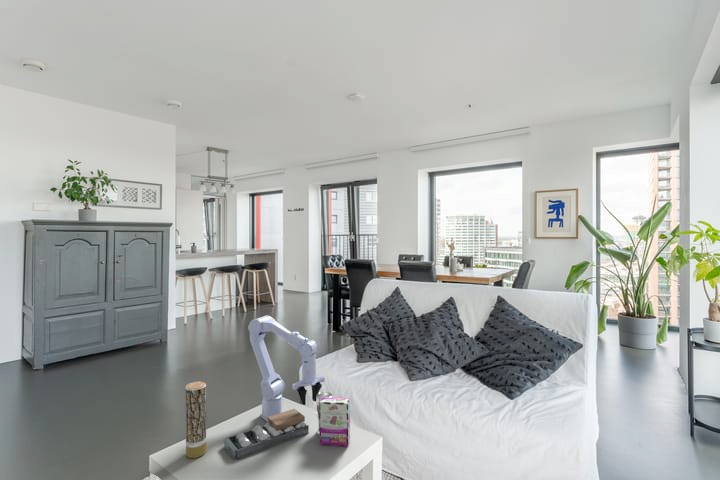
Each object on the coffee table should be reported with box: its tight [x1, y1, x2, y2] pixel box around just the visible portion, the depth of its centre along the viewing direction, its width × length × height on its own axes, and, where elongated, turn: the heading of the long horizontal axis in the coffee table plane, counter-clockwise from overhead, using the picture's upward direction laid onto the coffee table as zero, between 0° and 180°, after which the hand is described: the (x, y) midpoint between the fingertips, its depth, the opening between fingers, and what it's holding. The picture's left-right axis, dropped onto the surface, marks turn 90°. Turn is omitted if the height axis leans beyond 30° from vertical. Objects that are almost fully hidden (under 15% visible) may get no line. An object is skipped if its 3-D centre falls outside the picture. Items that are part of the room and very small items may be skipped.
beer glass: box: [315, 391, 334, 436], centre depth 150 cm, size 7×7×15 cm
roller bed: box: [223, 421, 310, 460], centre depth 145 cm, size 11×30×4 cm, turn 128°
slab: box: [268, 408, 306, 431], centre depth 150 cm, size 9×12×2 cm
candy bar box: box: [319, 397, 351, 447], centre depth 143 cm, size 11×5×16 cm, turn 83°
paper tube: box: [185, 381, 207, 459], centre depth 135 cm, size 7×7×25 cm
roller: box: [235, 432, 253, 449], centre depth 139 cm, size 8×4×4 cm, turn 37°
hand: (308, 402), depth 156 cm, fingers open, 5 cm apart
